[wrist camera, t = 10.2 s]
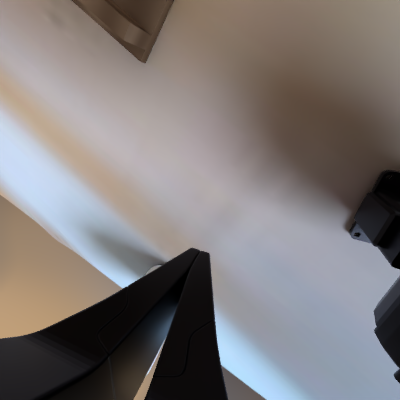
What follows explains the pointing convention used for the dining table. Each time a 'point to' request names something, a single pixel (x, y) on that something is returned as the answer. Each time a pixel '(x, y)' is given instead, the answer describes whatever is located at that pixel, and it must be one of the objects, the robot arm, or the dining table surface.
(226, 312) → the dining table surface
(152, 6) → the chute
